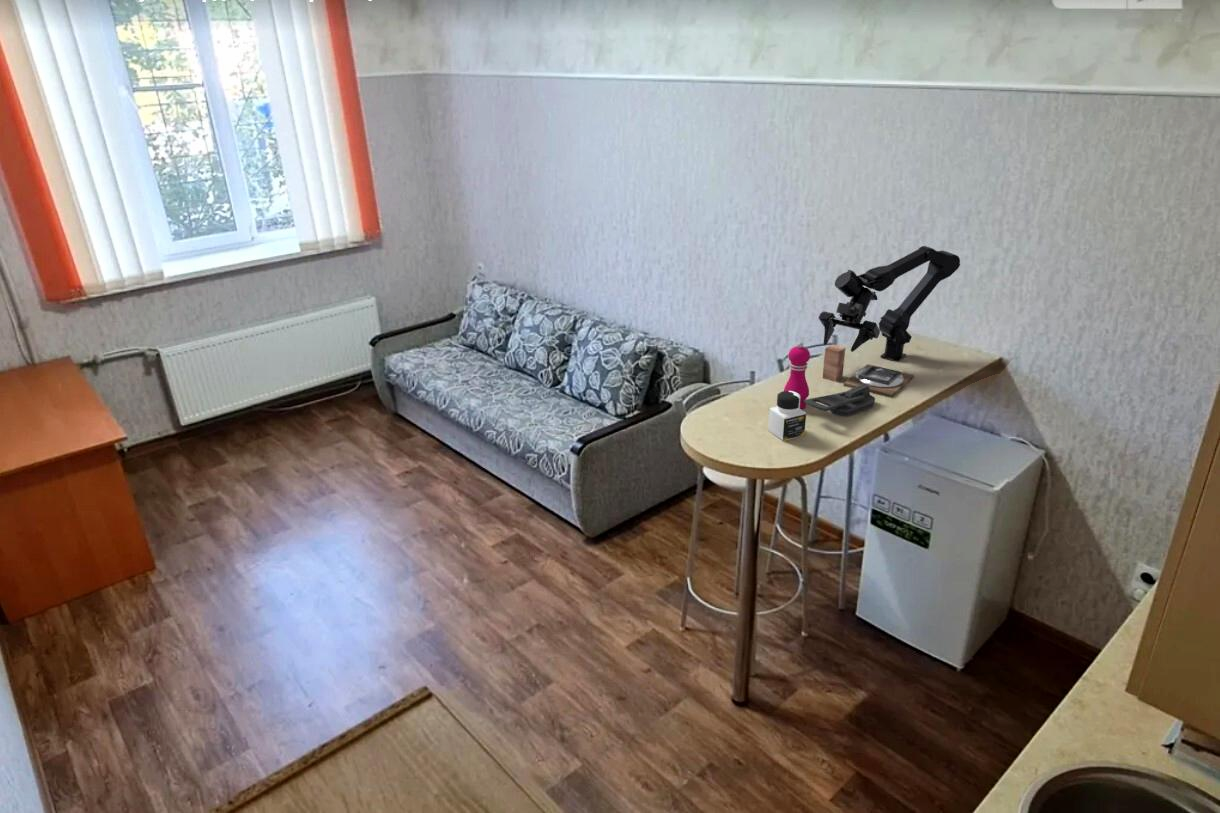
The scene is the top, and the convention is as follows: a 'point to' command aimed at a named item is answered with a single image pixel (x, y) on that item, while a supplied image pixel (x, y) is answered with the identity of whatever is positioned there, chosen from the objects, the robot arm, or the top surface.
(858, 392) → the zipper pull
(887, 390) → the walnut board
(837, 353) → the tan wooden block
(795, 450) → the top surface
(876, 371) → the rosette plate
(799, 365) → the pepper mill
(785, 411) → the medicine bottle
